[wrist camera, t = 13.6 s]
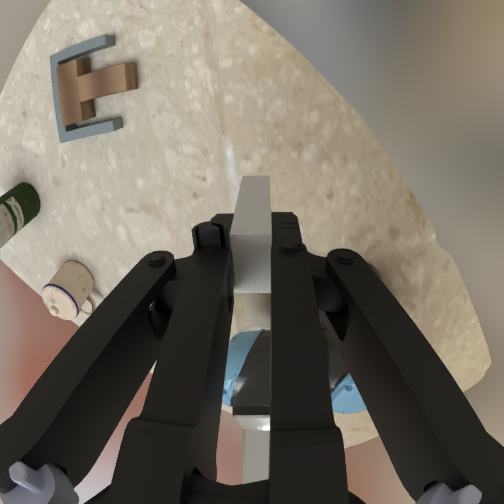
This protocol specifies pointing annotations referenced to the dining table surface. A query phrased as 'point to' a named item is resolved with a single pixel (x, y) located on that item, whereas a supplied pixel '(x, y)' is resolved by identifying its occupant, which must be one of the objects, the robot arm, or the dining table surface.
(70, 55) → the dock
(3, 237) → the wine bottle
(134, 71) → the t block
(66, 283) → the teacup with lid
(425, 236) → the dining table surface
